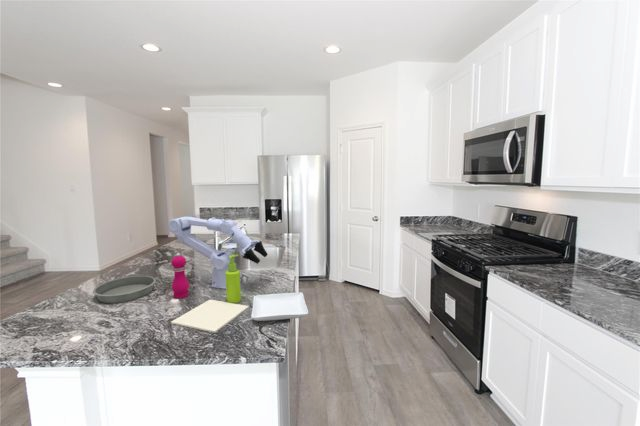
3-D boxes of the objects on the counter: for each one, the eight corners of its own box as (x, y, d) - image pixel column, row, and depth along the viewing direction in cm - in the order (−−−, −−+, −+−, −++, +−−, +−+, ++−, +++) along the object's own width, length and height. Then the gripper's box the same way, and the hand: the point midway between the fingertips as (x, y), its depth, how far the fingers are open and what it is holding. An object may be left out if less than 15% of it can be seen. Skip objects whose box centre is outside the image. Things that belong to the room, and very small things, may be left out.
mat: (170, 323, 112) (170, 321, 112) (209, 300, 132) (209, 299, 132) (214, 332, 105) (214, 331, 105) (249, 307, 125) (249, 306, 125)
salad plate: (302, 298, 134) (302, 290, 134) (309, 321, 113) (309, 312, 113) (253, 302, 131) (253, 294, 130) (251, 326, 110) (250, 317, 109)
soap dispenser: (245, 298, 134) (243, 254, 132) (235, 304, 128) (233, 258, 125) (233, 296, 136) (231, 253, 133) (224, 302, 130) (221, 257, 127)
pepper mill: (193, 294, 139) (190, 251, 136) (180, 300, 133) (177, 255, 130) (182, 291, 142) (179, 250, 139) (168, 297, 136) (165, 254, 133)
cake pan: (81, 299, 136) (80, 289, 135) (135, 281, 158) (134, 272, 157) (115, 309, 125) (114, 299, 125) (167, 288, 147) (167, 279, 146)
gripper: (237, 239, 136) (259, 260, 136) (253, 229, 149) (273, 247, 149) (230, 249, 139) (251, 269, 138) (246, 238, 152) (266, 256, 152)
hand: (262, 259), depth 144 cm, fingers open, 7 cm apart
